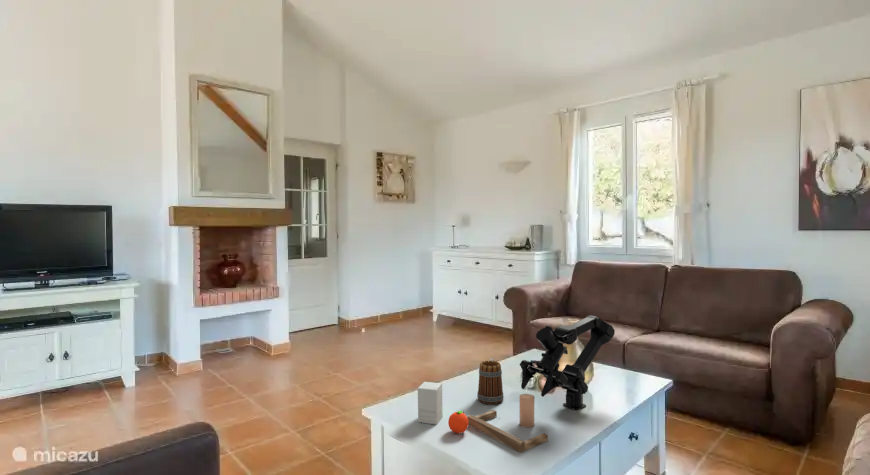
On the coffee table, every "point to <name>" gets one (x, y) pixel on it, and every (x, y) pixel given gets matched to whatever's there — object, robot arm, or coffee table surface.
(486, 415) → the bay
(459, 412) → the clementine
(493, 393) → the mug
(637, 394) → the coffee table surface
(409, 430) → the coffee table surface
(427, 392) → the supplement box
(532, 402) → the tan cylinder
